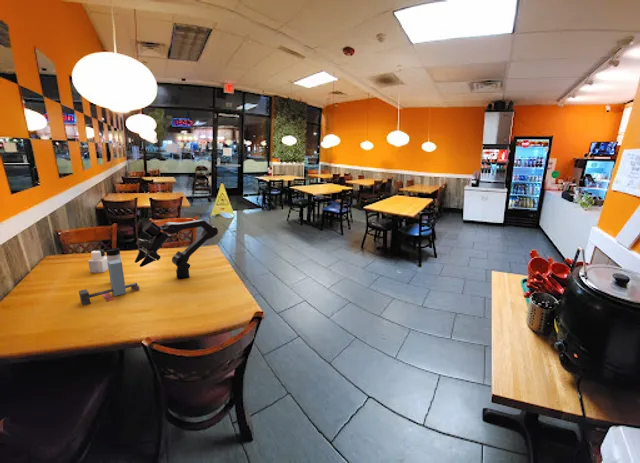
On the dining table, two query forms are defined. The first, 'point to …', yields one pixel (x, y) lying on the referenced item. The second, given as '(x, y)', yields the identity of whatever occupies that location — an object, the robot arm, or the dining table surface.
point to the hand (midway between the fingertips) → (137, 264)
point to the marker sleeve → (116, 277)
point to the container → (98, 261)
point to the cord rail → (86, 296)
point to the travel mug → (113, 254)
